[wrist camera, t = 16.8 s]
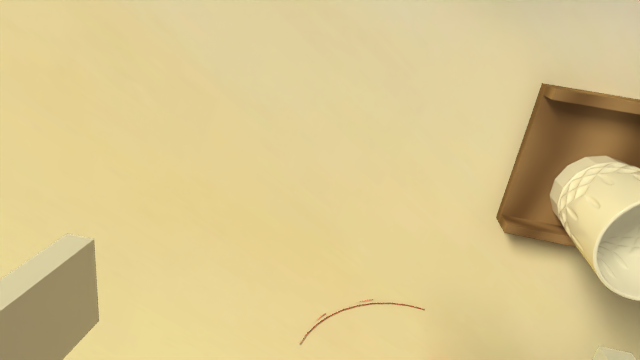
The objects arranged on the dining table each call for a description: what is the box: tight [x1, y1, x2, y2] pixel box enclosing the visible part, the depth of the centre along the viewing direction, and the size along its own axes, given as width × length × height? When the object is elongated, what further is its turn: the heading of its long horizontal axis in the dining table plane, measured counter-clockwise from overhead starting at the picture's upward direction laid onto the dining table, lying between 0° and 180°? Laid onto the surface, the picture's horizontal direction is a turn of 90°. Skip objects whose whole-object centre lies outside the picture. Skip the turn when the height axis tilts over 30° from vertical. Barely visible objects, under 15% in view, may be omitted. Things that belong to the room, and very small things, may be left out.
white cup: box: [550, 155, 640, 301], centre depth 32 cm, size 8×8×10 cm
